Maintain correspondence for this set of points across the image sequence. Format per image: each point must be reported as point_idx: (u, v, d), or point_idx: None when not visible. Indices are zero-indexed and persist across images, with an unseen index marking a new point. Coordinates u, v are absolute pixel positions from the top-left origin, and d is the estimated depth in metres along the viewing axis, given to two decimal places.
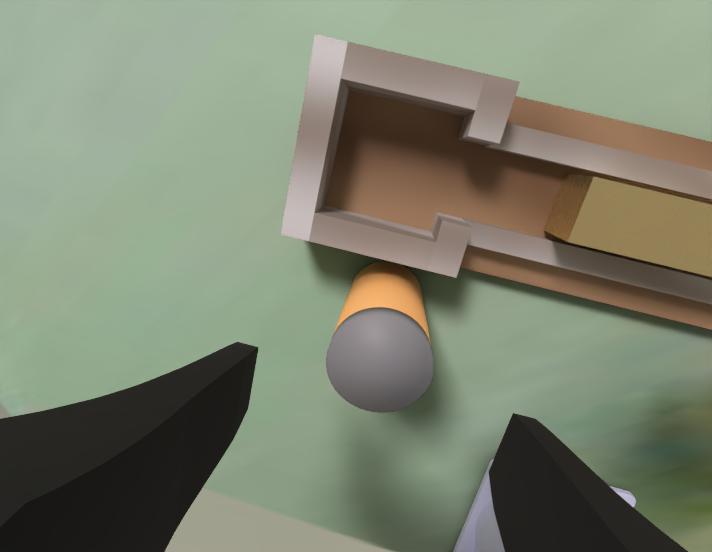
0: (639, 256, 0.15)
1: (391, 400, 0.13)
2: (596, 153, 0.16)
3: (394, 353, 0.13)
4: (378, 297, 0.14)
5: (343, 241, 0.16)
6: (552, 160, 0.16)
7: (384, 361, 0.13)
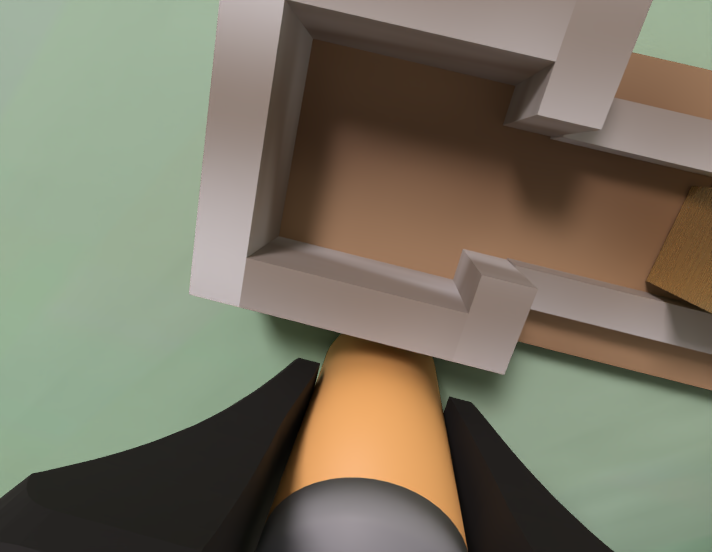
0: None
1: None
2: None
3: None
4: (359, 437, 0.07)
5: (301, 307, 0.09)
6: (678, 162, 0.09)
7: None
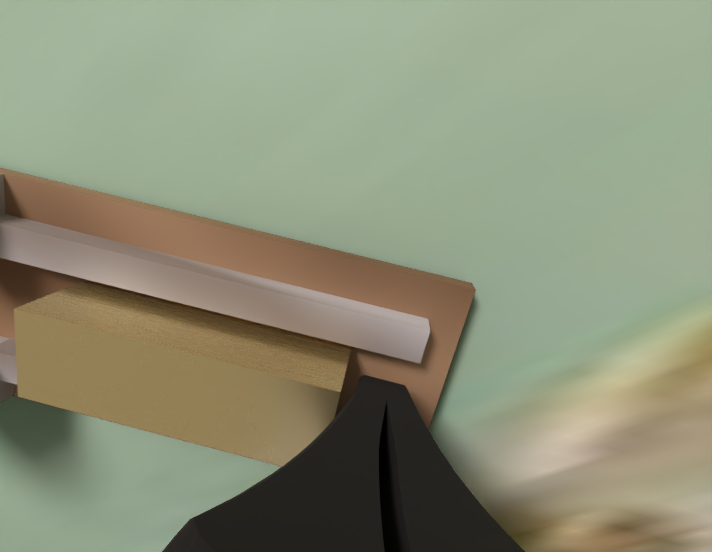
0: (120, 419, 0.10)
1: None
2: (122, 265, 0.11)
3: None
4: None
5: None
6: (68, 273, 0.11)
7: None
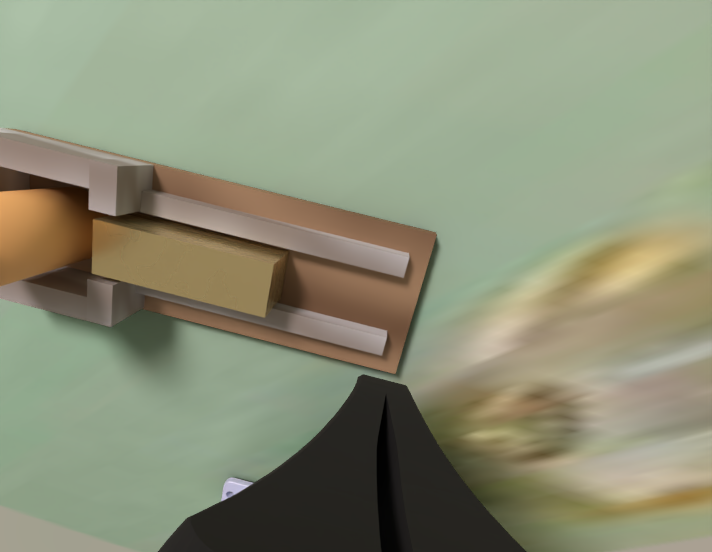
0: (151, 286, 0.17)
1: None
2: (227, 219, 0.18)
3: None
4: None
5: (13, 294, 0.18)
6: (193, 224, 0.18)
7: None
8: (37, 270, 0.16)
